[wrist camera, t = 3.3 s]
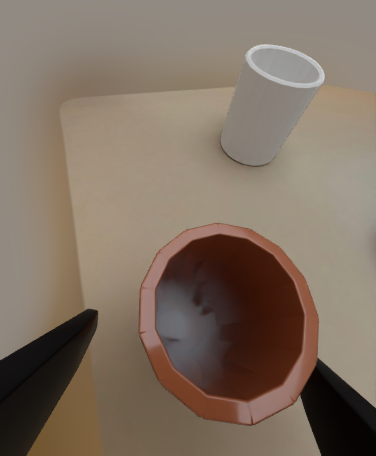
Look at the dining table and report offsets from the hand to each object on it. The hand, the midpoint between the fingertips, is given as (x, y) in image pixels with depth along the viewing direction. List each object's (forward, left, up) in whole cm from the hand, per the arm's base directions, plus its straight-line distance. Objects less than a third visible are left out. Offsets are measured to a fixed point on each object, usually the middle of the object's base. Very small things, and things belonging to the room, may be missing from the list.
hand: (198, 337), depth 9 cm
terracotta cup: (+1, 0, -8) cm, 9 cm away
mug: (+27, +6, -9) cm, 29 cm away
